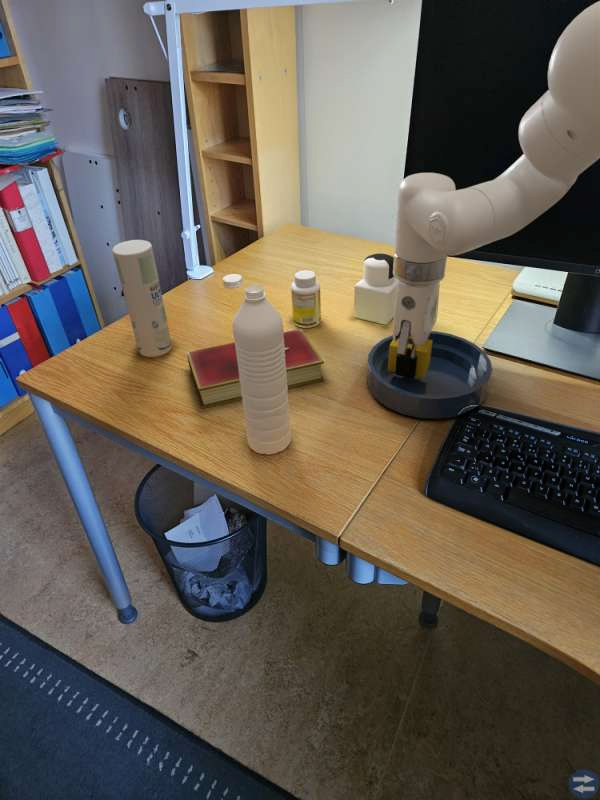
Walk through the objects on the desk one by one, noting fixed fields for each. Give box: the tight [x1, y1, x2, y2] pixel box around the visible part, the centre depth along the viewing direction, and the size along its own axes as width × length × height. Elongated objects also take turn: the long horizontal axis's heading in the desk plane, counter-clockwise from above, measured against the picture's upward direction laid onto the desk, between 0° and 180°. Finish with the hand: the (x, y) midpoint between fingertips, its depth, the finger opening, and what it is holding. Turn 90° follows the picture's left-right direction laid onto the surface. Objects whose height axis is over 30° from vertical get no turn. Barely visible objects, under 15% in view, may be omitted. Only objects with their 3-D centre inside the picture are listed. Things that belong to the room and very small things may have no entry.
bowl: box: [366, 330, 493, 420], centre depth 92 cm, size 20×20×4 cm
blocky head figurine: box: [353, 253, 398, 326], centre depth 109 cm, size 7×7×12 cm
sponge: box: [388, 336, 432, 378], centre depth 91 cm, size 6×4×5 cm, turn 66°
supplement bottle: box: [290, 269, 322, 329], centre depth 108 cm, size 6×6×10 cm
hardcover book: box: [186, 328, 325, 409], centre depth 96 cm, size 12×21×4 cm, turn 109°
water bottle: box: [222, 273, 292, 455], centre depth 76 cm, size 9×6×25 cm
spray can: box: [111, 239, 173, 358], centre depth 99 cm, size 6×6×20 cm
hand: (409, 367), depth 93 cm, fingers closed on sponge, 4 cm apart
